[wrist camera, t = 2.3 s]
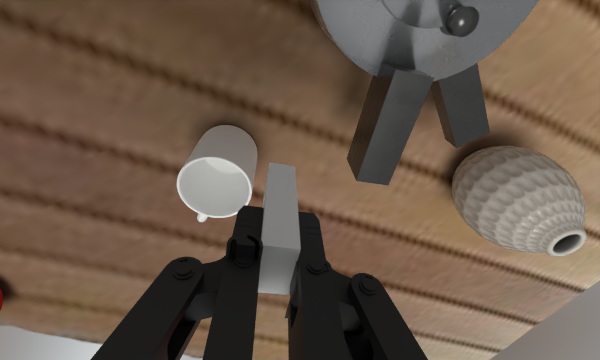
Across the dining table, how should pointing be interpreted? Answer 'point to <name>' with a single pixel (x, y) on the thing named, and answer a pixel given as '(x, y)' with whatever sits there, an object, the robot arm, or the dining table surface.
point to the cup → (219, 173)
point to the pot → (452, 101)
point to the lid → (410, 61)
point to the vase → (520, 200)
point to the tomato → (1, 299)
